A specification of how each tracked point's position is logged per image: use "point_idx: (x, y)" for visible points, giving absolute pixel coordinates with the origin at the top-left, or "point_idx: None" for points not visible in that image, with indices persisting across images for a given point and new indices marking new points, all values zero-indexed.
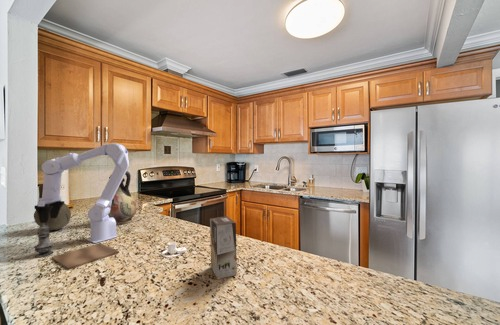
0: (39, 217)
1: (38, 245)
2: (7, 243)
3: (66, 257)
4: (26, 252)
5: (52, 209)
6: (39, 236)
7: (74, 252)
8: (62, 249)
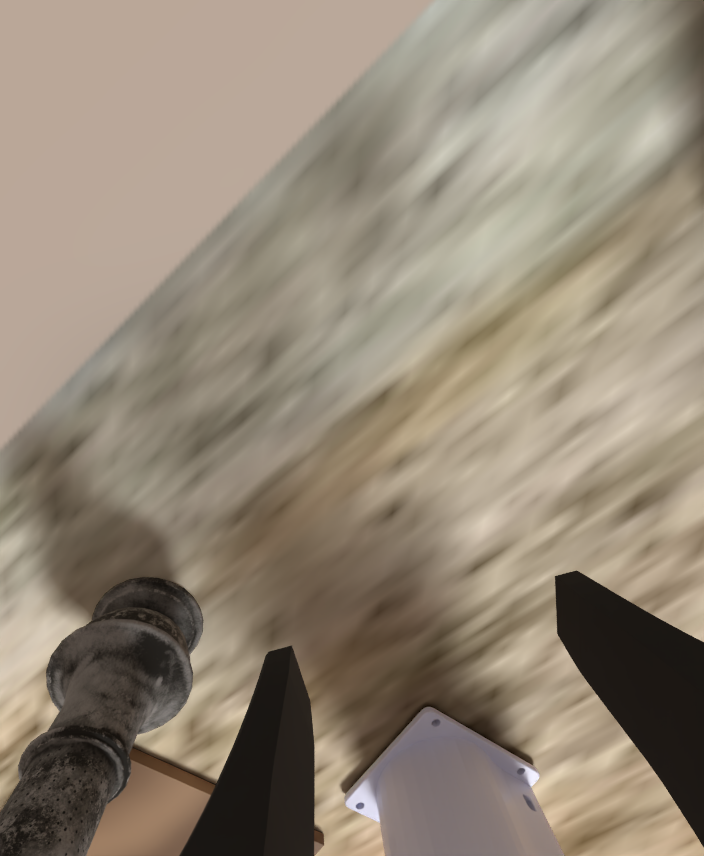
0: (240, 735)
1: (64, 685)
2: (453, 16)
3: None
4: (191, 453)
5: (683, 720)
6: (20, 771)
7: (153, 811)
8: (245, 670)
